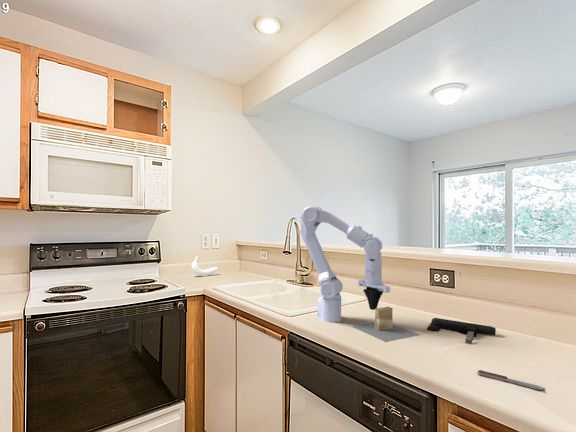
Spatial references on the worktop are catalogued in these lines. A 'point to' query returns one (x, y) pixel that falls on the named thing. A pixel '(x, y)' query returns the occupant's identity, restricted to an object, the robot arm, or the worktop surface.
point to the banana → (200, 271)
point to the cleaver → (506, 379)
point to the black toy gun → (461, 328)
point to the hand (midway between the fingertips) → (373, 309)
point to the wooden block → (383, 318)
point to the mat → (385, 332)
